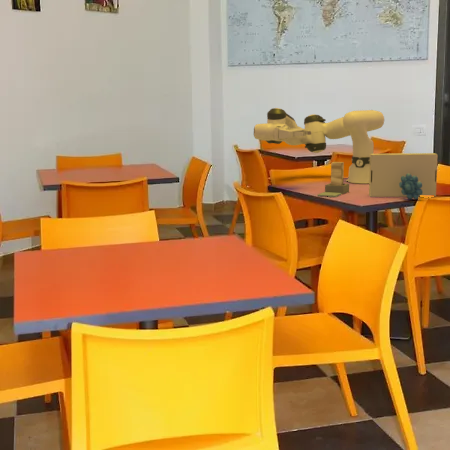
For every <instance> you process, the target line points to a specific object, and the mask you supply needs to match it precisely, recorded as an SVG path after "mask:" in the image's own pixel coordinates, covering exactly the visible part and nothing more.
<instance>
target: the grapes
mask: <svg viewBox="0 0 450 450" xmlns="http://www.w3.org/2000/svg"><path fill="white" fill-rule="evenodd" d="M401 181H402V182H400V183H399V186H400V188H402V190H401V192H402V194H403V195H407V197H406V198H407V199H408V200H409V201H410V200H412V199H414V200H419V198H420V197H419V195H422V193H423V191H422V189H420V188H421V187H422V183H421V182H419V181H418V177H417V176H415V175H414V176H413V177H412V175H411V174H409V173H408V174H406V177H405V176H402V177H401ZM417 181H418V182H417ZM418 197H419V198H418Z"/></svg>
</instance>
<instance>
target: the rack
mask: <svg viewBox="0 0 450 450" xmlns="http://www.w3.org/2000/svg"><path fill="white" fill-rule="evenodd" d="M324 192H332V193H342V195H345V194H347V192H348V193H350V183H343V185H342V186H340V185H331V182H329V183H326V184H325V185H324ZM344 193H345V194H344Z"/></svg>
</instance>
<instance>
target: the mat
mask: <svg viewBox="0 0 450 450" xmlns="http://www.w3.org/2000/svg"><path fill="white" fill-rule="evenodd" d="M341 194H342V193H332V192H325V191H324V192H321V193H318V194H317V197H321V196H328V197H327V198H337V197H340V196H342V195H343V194H342V195H341ZM339 195H340V196H339Z"/></svg>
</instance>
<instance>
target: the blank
mask: <svg viewBox="0 0 450 450" xmlns="http://www.w3.org/2000/svg"><path fill="white" fill-rule="evenodd" d="M344 165H345V162H344V161H333V162H331V165H330V167H331V168H330V170H331V172H330V183H331V185H340V186H342V185H343V184H344V175H345V174H344V173H345V172H344V171H345V170H344V168H345V166H344Z"/></svg>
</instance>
